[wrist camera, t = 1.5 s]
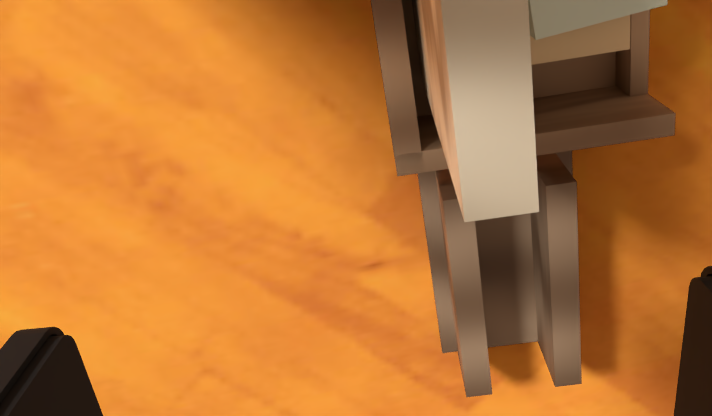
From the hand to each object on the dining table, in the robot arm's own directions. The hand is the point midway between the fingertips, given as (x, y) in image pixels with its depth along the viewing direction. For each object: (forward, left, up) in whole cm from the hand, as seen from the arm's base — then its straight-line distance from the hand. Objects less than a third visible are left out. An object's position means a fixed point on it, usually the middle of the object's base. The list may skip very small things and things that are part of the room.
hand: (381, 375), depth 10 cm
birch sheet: (-3, +3, -24) cm, 24 cm away
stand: (+13, +5, -25) cm, 28 cm away
